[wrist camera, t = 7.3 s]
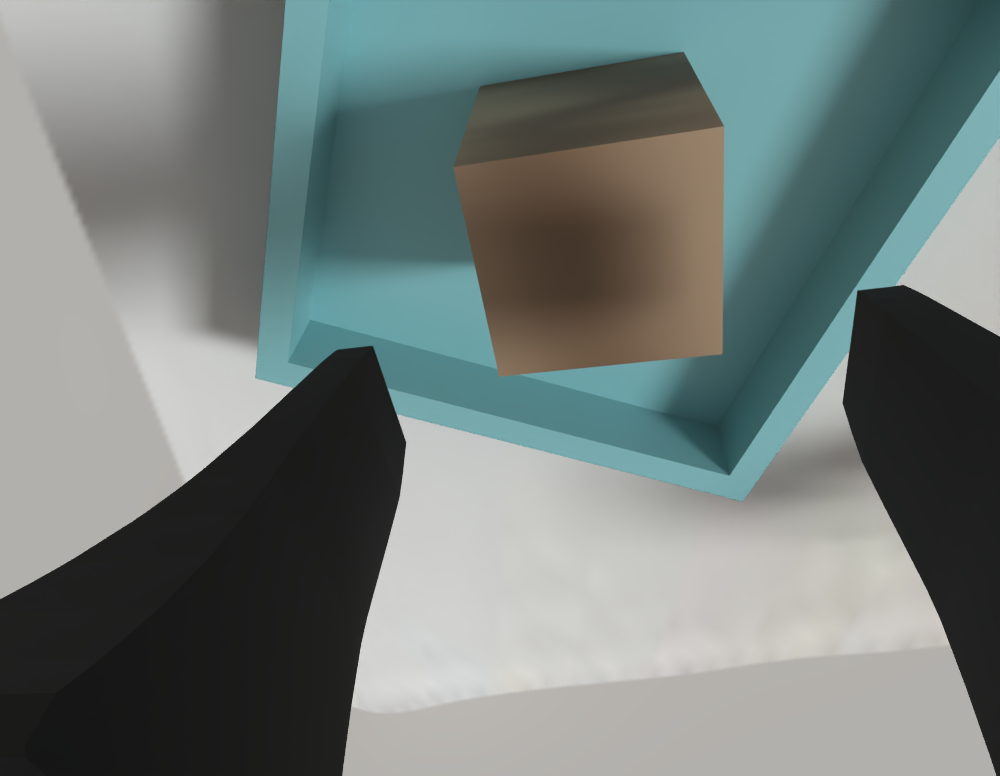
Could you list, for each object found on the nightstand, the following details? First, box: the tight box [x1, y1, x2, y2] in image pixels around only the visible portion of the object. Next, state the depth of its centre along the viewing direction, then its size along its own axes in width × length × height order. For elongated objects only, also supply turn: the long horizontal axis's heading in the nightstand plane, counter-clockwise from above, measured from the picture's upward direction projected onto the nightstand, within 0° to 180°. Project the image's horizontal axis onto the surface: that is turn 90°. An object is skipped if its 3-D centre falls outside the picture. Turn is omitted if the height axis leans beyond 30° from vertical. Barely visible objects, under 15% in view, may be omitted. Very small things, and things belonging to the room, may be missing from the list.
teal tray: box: [255, 0, 1000, 502], centre depth 17 cm, size 14×14×2 cm
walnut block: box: [453, 52, 724, 377], centre depth 15 cm, size 4×4×5 cm
